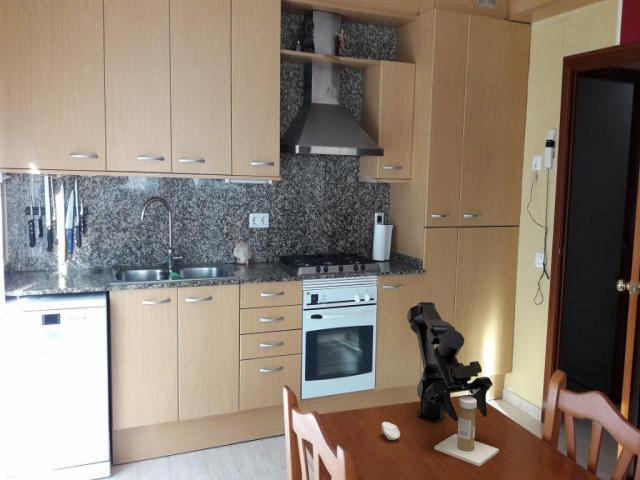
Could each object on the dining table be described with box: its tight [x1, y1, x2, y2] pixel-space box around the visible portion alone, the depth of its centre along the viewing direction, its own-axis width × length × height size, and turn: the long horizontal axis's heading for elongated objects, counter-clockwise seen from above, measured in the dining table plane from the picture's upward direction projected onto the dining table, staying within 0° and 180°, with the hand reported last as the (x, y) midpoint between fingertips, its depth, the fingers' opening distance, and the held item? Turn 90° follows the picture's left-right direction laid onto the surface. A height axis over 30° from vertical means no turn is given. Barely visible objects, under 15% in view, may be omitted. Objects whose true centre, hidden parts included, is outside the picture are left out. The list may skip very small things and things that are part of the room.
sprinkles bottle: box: [457, 395, 478, 451], centre depth 147 cm, size 5×5×14 cm
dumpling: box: [381, 421, 401, 441], centre depth 154 cm, size 7×5×4 cm
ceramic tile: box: [434, 433, 500, 468], centre depth 148 cm, size 13×11×1 cm
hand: (471, 418), depth 145 cm, fingers open, 9 cm apart
